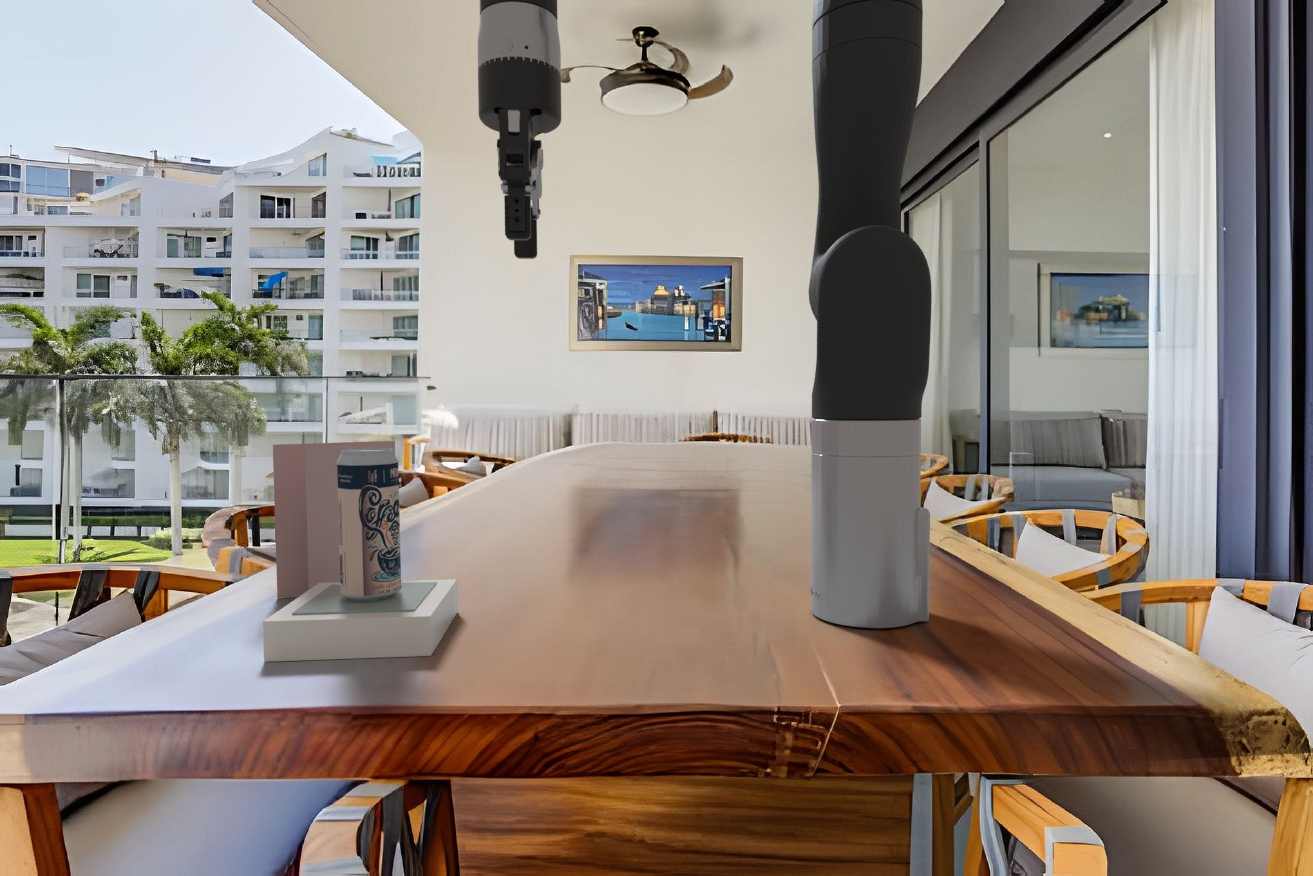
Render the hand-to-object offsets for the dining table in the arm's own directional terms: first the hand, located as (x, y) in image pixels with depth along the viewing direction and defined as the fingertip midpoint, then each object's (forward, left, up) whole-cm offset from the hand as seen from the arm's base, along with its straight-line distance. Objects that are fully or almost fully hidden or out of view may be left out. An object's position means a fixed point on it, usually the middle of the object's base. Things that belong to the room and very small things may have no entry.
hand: (522, 249), depth 71 cm
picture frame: (+12, +9, -33) cm, 36 cm away
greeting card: (+18, -4, -33) cm, 38 cm away
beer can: (+12, +9, -30) cm, 34 cm away
